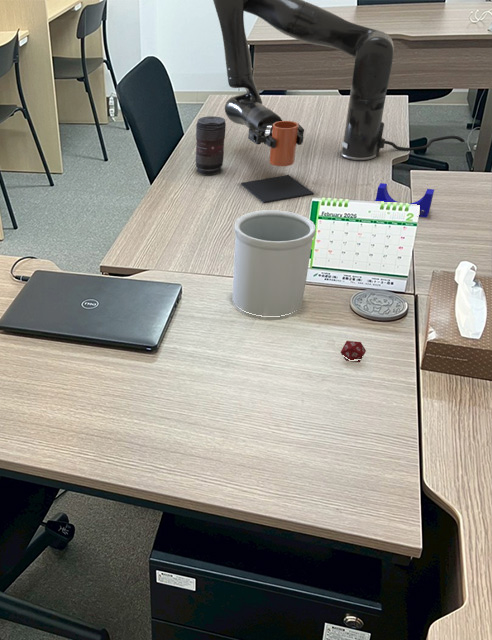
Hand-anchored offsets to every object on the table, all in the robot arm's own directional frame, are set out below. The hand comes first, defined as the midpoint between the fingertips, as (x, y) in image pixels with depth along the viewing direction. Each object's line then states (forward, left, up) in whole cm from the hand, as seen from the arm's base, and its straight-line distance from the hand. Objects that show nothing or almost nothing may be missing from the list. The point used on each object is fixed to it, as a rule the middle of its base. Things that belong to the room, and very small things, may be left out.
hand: (287, 142), depth 181 cm
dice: (+24, +73, -14) cm, 78 cm away
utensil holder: (+29, +50, -14) cm, 59 cm away
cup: (0, -2, -6) cm, 6 cm away
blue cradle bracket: (-19, +23, -14) cm, 33 cm away
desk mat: (+1, -2, -13) cm, 14 cm away
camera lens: (+12, -22, -14) cm, 29 cm away
